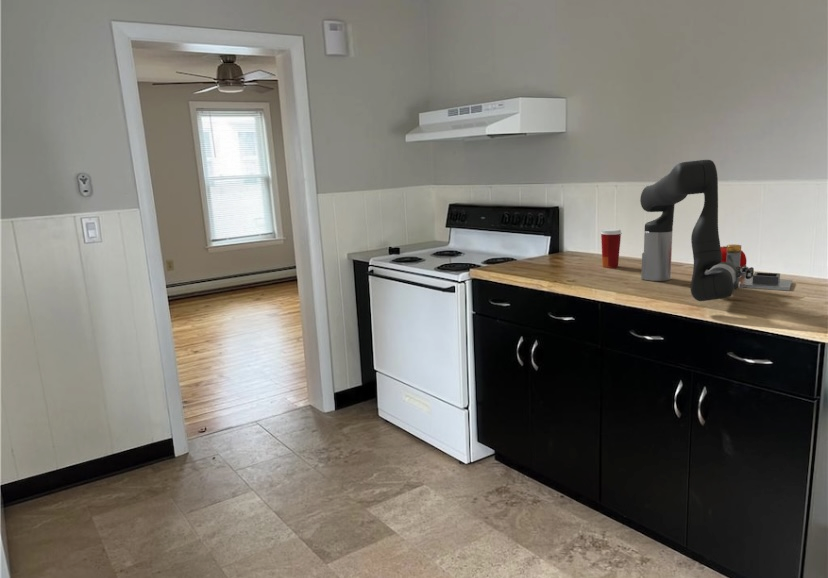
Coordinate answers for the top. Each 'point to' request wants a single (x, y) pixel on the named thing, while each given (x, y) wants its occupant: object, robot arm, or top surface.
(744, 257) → the tomato
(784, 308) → the top surface
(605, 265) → the coffee cup
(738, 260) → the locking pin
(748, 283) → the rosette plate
